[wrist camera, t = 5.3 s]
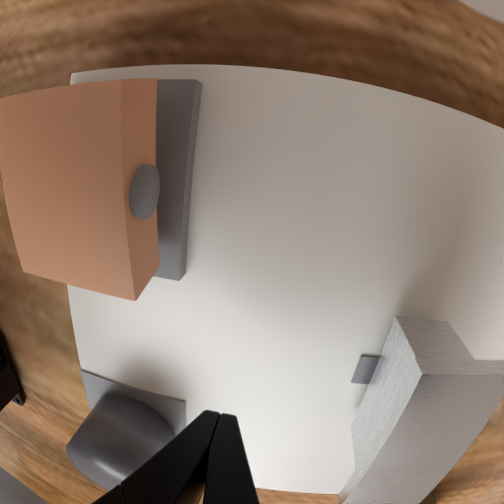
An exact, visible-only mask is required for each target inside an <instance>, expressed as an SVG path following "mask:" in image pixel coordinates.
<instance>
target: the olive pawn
mask: <svg viewBox="0 0 504 504" xmlns="http://www.w3.org/2000/svg"><path fill="white" fill-rule="evenodd" d="M419 504H436V498H435V496H434V495H433V494H430V493H429V494H428V495H427V496H426V497H425V498H424V499H423V500H422V501H421V502H420V503H419Z"/></svg>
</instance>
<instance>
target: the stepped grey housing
mask: <svg viewBox="0 0 504 504" xmlns="http://www.w3.org/2000/svg"><path fill="white" fill-rule="evenodd" d="M503 397H504V360H475V359H474V357H473V356H472V354H471V353H470V352H469V350H468V349H467V347H466V346H465V345H464V343H463V342H462V340H461V339H460V338H459V336H458V335H457V334H456V332H455V331H454V330H453V328H452V327H451V326H450V324H449V323H448V322H447V321H441V320H431V319H421V318H412V317H403V316H394V319H393V322H392V325H391V328H390V331H389V334H388V336H387V339H386V342H385V345H384V347H383V350H382V353H381V355H380V358H379V361H378V363H377V366H376V368H375V371H374V373H373V376H372V378H371V381H370V383H369V385H368V388H367V390H366V393H365V395H364V397H363V399H362V402H361V404H360V406H359V408H358V411H357V413H356V415H355V417H354V419H353V421H352V423H351V426H350V428H351V435H352V443H353V451H354V460H355V471H354V472H353V474H352V475H351V477H350V478H349V480H348V481H347V483H346V484H345V486H344V487H343V489H342V490H341V492H340V493H339V494H338V501H339V504H419V503H420V502H421V501H422V500H423V499H424V498H425V497H426V496H427V495H428V494H429V493H430V492H431V491H432V490H433V489H434V488H435V487H436V486H437V485H438V483H439V482H440V481H441V480H442V479H443V478H444V477H445V476H446V475H447V473H448V472H449V471H450V470H451V469H452V468H453V466H454V465H455V464H456V463H457V462H458V460H459V459H460V458H461V457H462V455H463V454H464V453H465V452H466V450H467V449H468V448H469V447H470V445H471V444H472V443H473V441H474V440H475V439H476V437H477V436H478V435H479V433H480V432H481V430H482V429H483V428H484V426H485V425H486V423H487V422H488V420H489V419H490V417H491V416H492V414H493V413H494V411H495V410H496V408H497V407H498V405H499V404H500V402H501V400H502V399H503Z"/></svg>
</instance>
